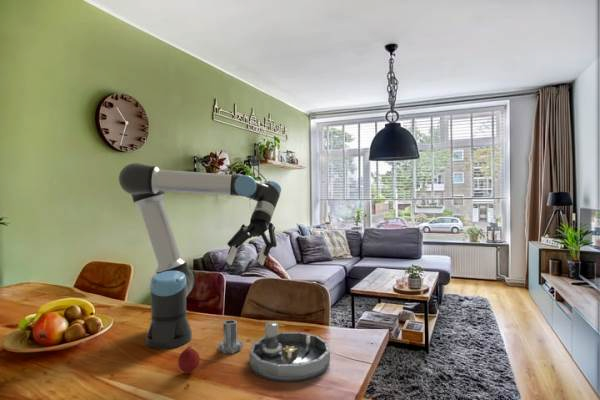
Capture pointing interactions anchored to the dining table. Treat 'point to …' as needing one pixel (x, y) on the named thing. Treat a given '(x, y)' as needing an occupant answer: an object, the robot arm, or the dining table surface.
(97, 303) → the dining table surface
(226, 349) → the planet gear
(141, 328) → the dining table surface
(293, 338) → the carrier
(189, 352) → the onion
